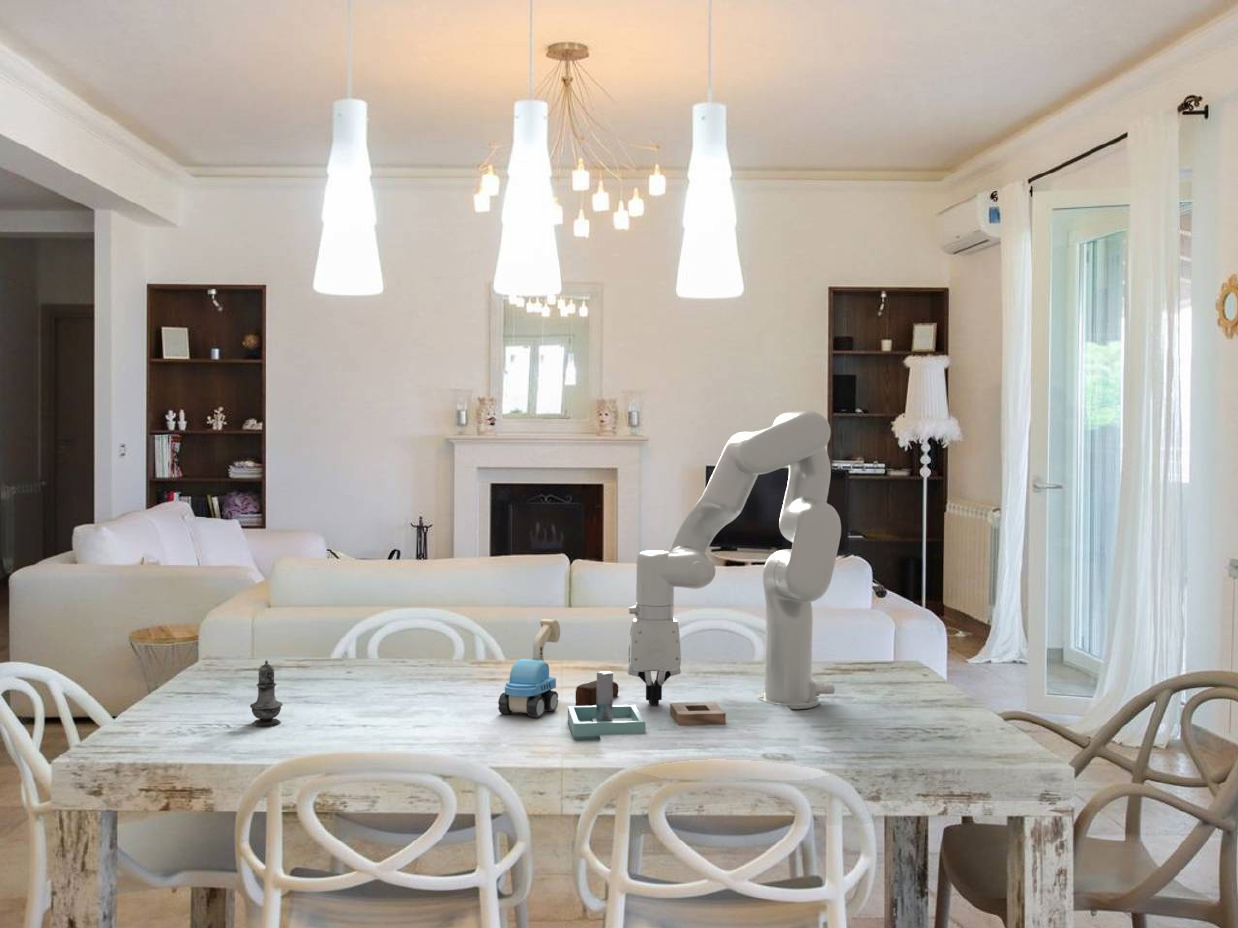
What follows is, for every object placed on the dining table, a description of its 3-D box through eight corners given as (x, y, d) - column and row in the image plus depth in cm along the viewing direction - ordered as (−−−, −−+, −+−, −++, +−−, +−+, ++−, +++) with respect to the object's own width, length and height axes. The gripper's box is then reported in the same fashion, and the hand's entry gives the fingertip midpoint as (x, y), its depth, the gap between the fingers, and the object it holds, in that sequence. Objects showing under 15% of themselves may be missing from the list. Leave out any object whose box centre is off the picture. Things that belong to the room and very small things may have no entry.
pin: (611, 724, 218) (611, 671, 217) (613, 728, 215) (613, 674, 214) (595, 724, 217) (596, 671, 217) (597, 728, 214) (597, 674, 214)
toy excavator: (573, 703, 237) (574, 619, 236) (534, 721, 222) (535, 632, 221) (537, 698, 240) (538, 616, 240) (495, 716, 225) (496, 628, 225)
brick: (591, 711, 230) (592, 688, 230) (574, 709, 232) (575, 685, 232) (618, 701, 239) (619, 679, 239) (602, 699, 241) (602, 676, 241)
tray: (634, 720, 223) (635, 704, 223) (645, 738, 210) (645, 721, 210) (567, 721, 221) (567, 706, 221) (573, 739, 208) (574, 723, 208)
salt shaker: (252, 728, 214) (253, 664, 213) (247, 721, 219) (247, 658, 218) (285, 725, 216) (285, 661, 216) (279, 718, 221) (279, 655, 221)
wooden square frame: (715, 717, 226) (715, 701, 226) (725, 729, 217) (725, 713, 217) (669, 718, 225) (670, 702, 225) (678, 730, 216) (678, 714, 216)
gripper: (620, 616, 227) (619, 709, 227) (695, 615, 229) (693, 707, 229) (615, 610, 234) (614, 700, 235) (688, 609, 236) (686, 698, 237)
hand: (653, 703), depth 232 cm, fingers closed
